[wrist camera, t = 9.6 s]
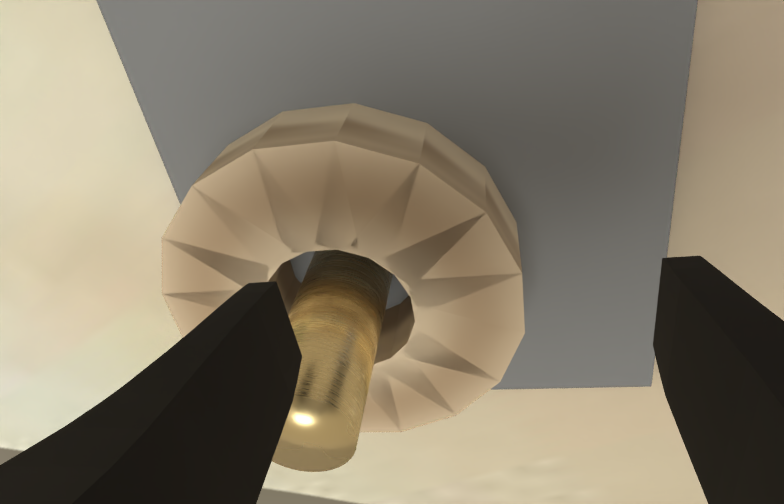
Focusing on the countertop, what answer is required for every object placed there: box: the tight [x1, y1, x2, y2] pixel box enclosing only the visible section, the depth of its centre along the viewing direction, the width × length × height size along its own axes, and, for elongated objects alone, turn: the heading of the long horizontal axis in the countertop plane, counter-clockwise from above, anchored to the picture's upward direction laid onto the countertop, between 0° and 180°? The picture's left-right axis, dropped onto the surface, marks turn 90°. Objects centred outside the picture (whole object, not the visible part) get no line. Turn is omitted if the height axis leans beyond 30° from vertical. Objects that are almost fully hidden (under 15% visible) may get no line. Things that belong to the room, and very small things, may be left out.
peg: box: [272, 250, 393, 472], centre depth 18 cm, size 3×3×8 cm
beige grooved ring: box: [162, 103, 525, 432], centre depth 20 cm, size 12×12×3 cm
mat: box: [97, 0, 698, 390], centre depth 18 cm, size 17×26×1 cm, turn 9°
